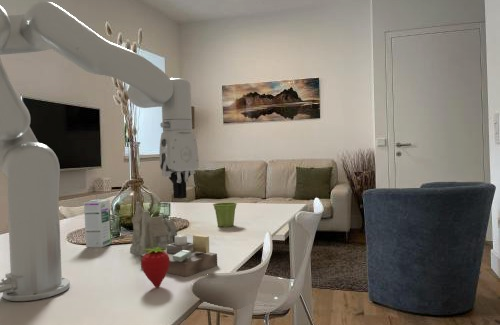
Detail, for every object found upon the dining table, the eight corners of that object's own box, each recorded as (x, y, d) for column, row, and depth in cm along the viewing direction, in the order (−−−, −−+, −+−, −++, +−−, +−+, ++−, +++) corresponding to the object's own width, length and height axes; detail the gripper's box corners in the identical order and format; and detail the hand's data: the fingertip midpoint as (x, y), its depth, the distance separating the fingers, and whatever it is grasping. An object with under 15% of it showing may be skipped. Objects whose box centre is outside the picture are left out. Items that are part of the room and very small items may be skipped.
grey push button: (180, 248, 104) (180, 237, 104) (172, 246, 106) (171, 236, 106) (189, 245, 107) (189, 235, 107) (181, 244, 109) (180, 234, 109)
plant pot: (210, 225, 161) (209, 203, 160) (232, 223, 165) (231, 201, 164) (218, 229, 152) (217, 205, 152) (241, 226, 156) (240, 203, 156)
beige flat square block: (206, 253, 101) (205, 237, 101) (193, 251, 104) (192, 235, 104) (209, 252, 102) (208, 236, 102) (196, 250, 105) (196, 234, 105)
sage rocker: (181, 261, 95) (180, 256, 95) (173, 260, 97) (172, 255, 96) (191, 255, 98) (190, 250, 98) (184, 254, 99) (183, 249, 99)
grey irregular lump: (141, 258, 111) (142, 203, 112) (123, 250, 125) (124, 200, 125) (193, 253, 120) (193, 202, 120) (171, 245, 133) (171, 199, 134)
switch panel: (186, 276, 94) (185, 256, 94) (141, 266, 103) (140, 248, 103) (217, 265, 103) (216, 246, 103) (173, 257, 112) (172, 239, 112)
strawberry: (139, 294, 83) (137, 245, 83) (144, 282, 91) (143, 237, 90) (169, 292, 84) (167, 243, 84) (171, 280, 91) (170, 236, 91)
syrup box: (102, 247, 126) (100, 201, 126) (85, 247, 128) (83, 201, 127) (112, 243, 132) (110, 198, 132) (95, 243, 133) (93, 199, 133)
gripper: (165, 125, 98) (168, 202, 98) (207, 127, 110) (210, 195, 110) (144, 127, 102) (147, 200, 102) (187, 129, 114) (190, 194, 115)
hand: (180, 197), depth 106 cm, fingers closed
